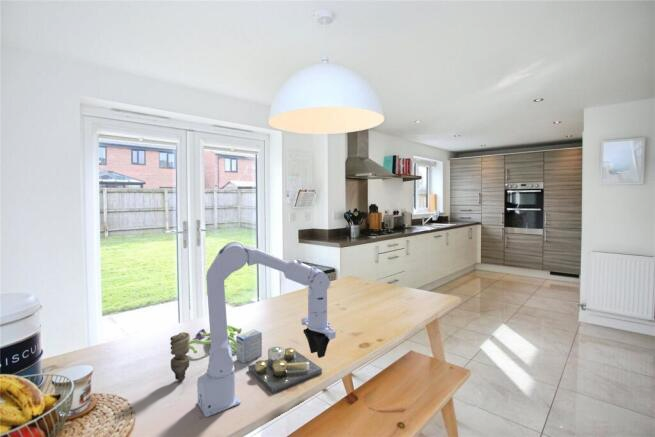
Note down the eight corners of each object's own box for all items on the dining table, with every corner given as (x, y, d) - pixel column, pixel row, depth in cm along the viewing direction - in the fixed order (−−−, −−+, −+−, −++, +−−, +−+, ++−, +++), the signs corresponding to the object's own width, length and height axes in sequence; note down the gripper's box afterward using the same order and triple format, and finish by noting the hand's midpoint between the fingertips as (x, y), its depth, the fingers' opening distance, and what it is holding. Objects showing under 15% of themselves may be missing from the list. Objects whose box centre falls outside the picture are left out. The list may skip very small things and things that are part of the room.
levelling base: (272, 393, 94) (272, 371, 93) (248, 370, 106) (248, 350, 106) (321, 373, 105) (321, 353, 104) (295, 354, 117) (295, 336, 117)
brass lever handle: (272, 376, 99) (272, 367, 99) (273, 368, 104) (272, 360, 104) (309, 373, 101) (309, 364, 101) (308, 366, 105) (308, 357, 105)
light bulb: (193, 376, 103) (192, 329, 102) (186, 386, 97) (185, 337, 96) (175, 376, 103) (174, 330, 102) (167, 386, 97) (166, 337, 96)
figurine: (182, 364, 111) (182, 348, 111) (197, 332, 137) (197, 319, 137) (238, 358, 115) (238, 343, 115) (242, 329, 141) (242, 316, 141)
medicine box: (254, 351, 119) (254, 328, 119) (262, 355, 117) (262, 331, 116) (236, 359, 113) (235, 335, 113) (244, 364, 110) (243, 339, 110)
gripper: (343, 313, 94) (343, 359, 94) (314, 301, 105) (314, 342, 106) (324, 319, 89) (324, 367, 90) (295, 305, 101) (296, 348, 101)
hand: (317, 354), depth 98 cm, fingers open, 3 cm apart
